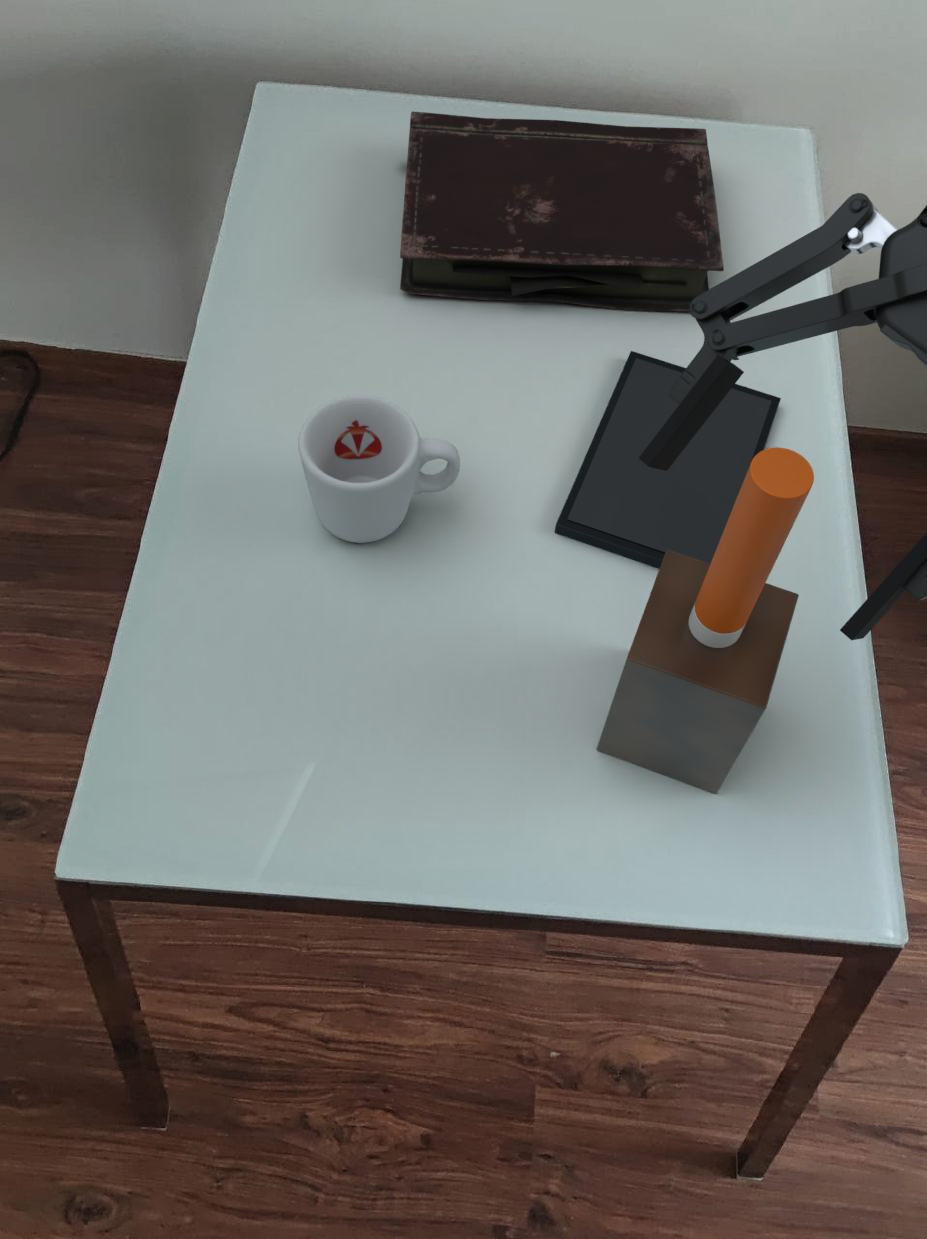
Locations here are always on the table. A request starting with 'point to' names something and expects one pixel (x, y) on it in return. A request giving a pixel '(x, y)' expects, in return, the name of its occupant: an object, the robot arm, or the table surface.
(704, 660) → the tall brown-topped block
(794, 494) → the orange cylinder
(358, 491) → the cup
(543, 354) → the table surface
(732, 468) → the tablet
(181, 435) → the table surface
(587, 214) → the diary
